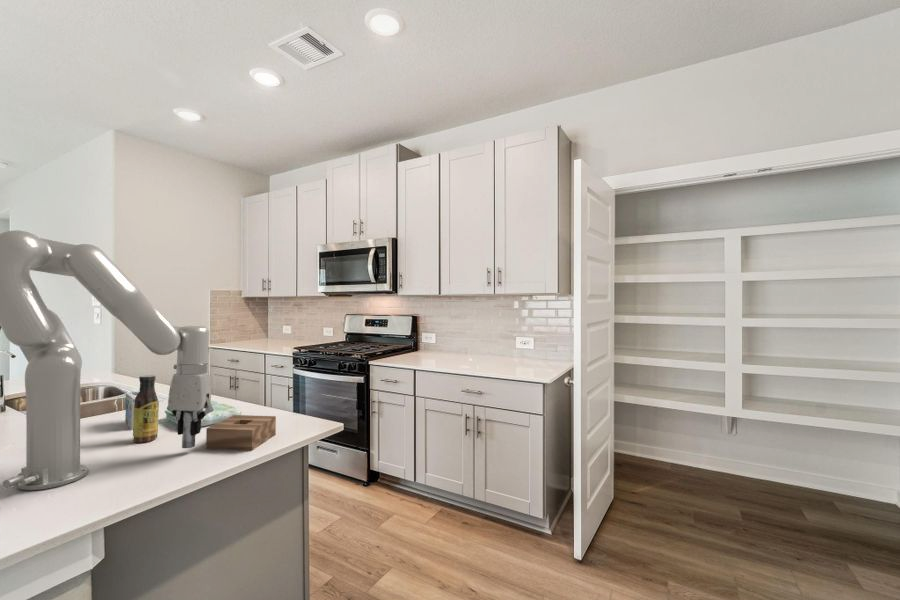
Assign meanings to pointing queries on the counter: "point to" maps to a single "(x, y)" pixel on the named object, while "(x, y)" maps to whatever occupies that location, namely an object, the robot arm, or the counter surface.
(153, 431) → the sauce bottle
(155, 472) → the counter surface
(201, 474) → the counter surface
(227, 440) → the socket block
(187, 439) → the pin
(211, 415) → the towel
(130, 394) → the light bulb box
